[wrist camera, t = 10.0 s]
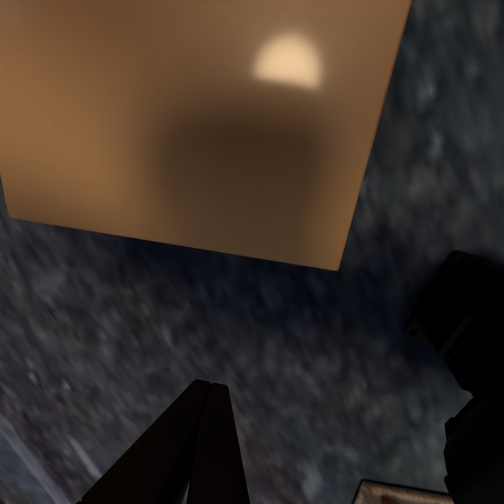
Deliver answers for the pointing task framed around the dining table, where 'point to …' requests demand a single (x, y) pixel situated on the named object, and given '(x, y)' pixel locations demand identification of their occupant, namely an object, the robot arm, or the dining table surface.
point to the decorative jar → (397, 495)
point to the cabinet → (196, 118)
